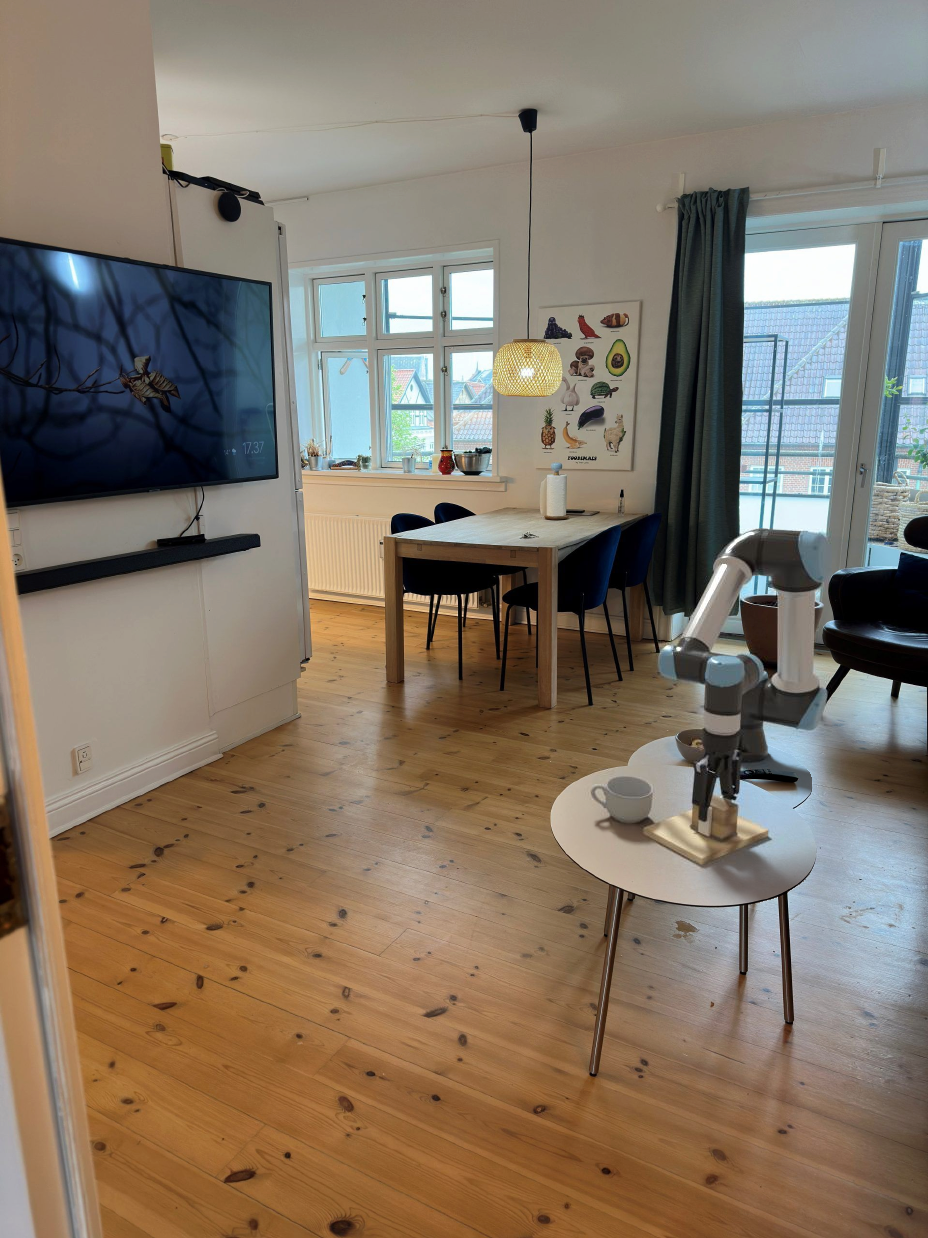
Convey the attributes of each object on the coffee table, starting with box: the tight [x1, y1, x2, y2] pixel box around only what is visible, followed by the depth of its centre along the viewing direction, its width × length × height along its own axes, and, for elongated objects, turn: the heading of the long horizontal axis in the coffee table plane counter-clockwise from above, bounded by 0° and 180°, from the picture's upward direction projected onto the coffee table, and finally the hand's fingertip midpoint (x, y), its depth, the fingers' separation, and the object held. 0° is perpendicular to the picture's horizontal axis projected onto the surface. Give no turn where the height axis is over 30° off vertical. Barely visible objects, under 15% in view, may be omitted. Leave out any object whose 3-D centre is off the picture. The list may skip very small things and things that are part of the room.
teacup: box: [590, 775, 654, 824], centre depth 186 cm, size 14×11×8 cm
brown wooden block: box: [690, 794, 739, 842], centre depth 176 cm, size 5×8×7 cm, turn 35°
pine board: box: [643, 809, 770, 866], centre depth 178 cm, size 22×16×2 cm
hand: (713, 829), depth 177 cm, fingers closed on brown wooden block, 5 cm apart
